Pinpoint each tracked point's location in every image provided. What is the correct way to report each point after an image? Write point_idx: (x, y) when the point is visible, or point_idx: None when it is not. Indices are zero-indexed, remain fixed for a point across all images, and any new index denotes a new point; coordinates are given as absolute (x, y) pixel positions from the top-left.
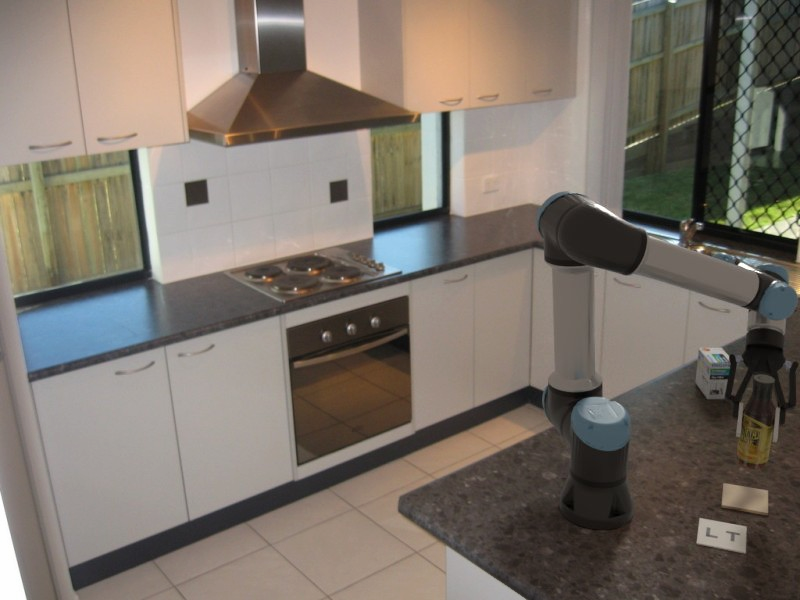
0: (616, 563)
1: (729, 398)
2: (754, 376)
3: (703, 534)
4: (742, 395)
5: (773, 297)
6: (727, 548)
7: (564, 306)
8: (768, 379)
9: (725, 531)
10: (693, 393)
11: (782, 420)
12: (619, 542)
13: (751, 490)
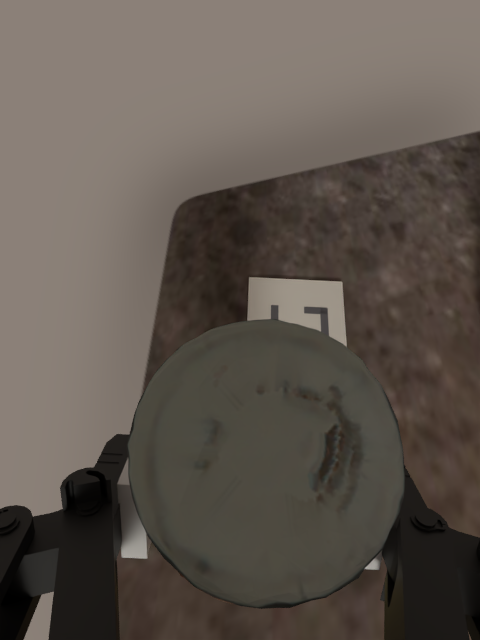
0: (460, 199)
1: (478, 543)
2: (401, 474)
3: (332, 312)
4: (399, 566)
5: None
6: (283, 280)
7: None
8: (214, 417)
9: None
10: None
11: (118, 448)
12: (477, 252)
13: None
